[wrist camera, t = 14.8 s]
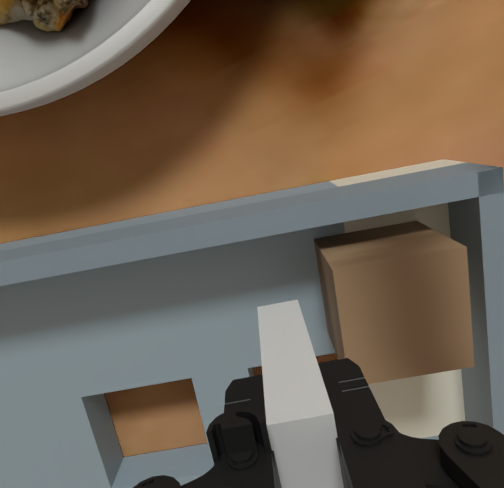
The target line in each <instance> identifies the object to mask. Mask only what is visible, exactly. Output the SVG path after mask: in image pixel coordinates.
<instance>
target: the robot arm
mask: <svg viewBox="0 0 504 488" xmlns="http://www.w3.org/2000/svg"><path fill="white" fill-rule="evenodd" d="M257 310H258V323H259V336H260V349H261V362H262V375H257V376H251V377H246V378H240V379H235V380H232V382H231V383H230V385H229V386H228V388H227V389H226V391H225V405H224V413H222V414H221V415H219V416H217V417H216V418H215V419H214V420H213V421H212V422H211V423H210V424H209V426H208V429H207V431H206V434H207V438H208V442H209V446H210V450H211V454H212V458H213V462H214V466H213V467H212V468H211V469H210V470H209V471H208V472H206V473H205V474H204V475H202V476H200V477H199V478H197V479H195V480H193V481H190V482H188V483H186V484H184V485H181V486H180V483H179V482H178V481H177V480H176V479H175V478H174V477H171V476H166V475H160V476H153V477H150V478H148V479H146V480H143V481H141V482H140V483H138V484H137V485H136V486H134V487H133V488H504V435H503V434H502V433H501V432H499V431H497V430H496V429H494V428H492V427H491V426H489V425H486V424H482V423H479V422H474V421H460V422H455V423H451V424H449V425H447V426H446V427H444V428H443V429H442V430H441V432H440V434H439V435H438V437H439V440H437V439H422V438H415V437H410V436H407V435H404V434H401V433H400V432H398V430H397V429H396V428H395V427H394V426H393V424H392V423H390V422H388V421H386V420H385V418H384V416H383V414H382V412H381V410H380V408H379V406H378V404H377V402H376V400H375V397H374V395H373V393H372V391H371V389H370V387H369V385H368V383H367V381H366V379H365V378H364V375H363V373H362V371H361V369H360V367H359V365H357V364H356V363H354V362H353V361H352V360H350V359H349V358H345V359H339V360H333V361H328V362H322V363H318V362H317V359H316V356H315V353H314V350H313V347H312V343H311V340H310V337H309V334H308V331H307V328H306V324H305V321H304V318H303V315H302V312H301V308H300V305H299V302H298V300H293V301H287V302H282V303H276V304H271V305H266V306H260V307H257Z"/></svg>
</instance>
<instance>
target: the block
mask: <svg viewBox="0 0 504 488" xmlns="http://www.w3.org/2000/svg"><path fill="white" fill-rule="evenodd" d="M314 245H315V251H316V258H317V265H318V271H319V278H320V284H321V291H322V297H323V304H324V310H325V317H326V324H327V330H328V334H329V337H330V339H331V342H332V344H333V347H334V349H335V352H336V354H337V357H338V360H339V359H345V358H349V359H350V360H352V361H353V362H354V363H356V364H357V365H359V367H360V369H361V371H362V373H363V375H364V378H365V379H366V381H367V383H368V384H372V383H378V382H384V381H391V380H397V379H403V378H409V377H415V376H421V375H427V374H433V373H439V372H446V371H452V370H458V369H464V368H470V367H474V353H473V337H472V321H471V305H470V290H469V274H468V258H467V247H466V246H464V245H462V244H460V243H458V242H457V241H455V240H453V239H451V238H449V237H447V236H445V235H443V234H441V233H440V232H438V231H436V230H434V229H432V228H430V227H428V226H426V225H424V224H422V223H421V222H419V221H411V222H405V223H400V224H394V225H389V226H383V227H377V228H372V229H366V230H360V231H355V232H349V233H344V234H338V235H332V236H327V237H321V238H315V239H314Z"/></svg>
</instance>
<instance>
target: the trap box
mask: <svg viewBox="0 0 504 488" xmlns="http://www.w3.org/2000/svg"><path fill="white" fill-rule="evenodd" d="M411 221H419V222H421V223H422V224H424V225H426V226H428V227H430V228H432V229H434V230H436V231H438V232H440V233H441V234H443V235H445V236H447V237H449V238H451V239H453V240H455V241H457V242H458V243H460V244H462V245H464V246H466V247H467V258H468V274H469V290H470V305H471V321H472V337H473V353H474V367H470V368H464V369H458V370H452V371H446V372H439V373H433V374H427V375H421V376H415V377H409V378H403V379H397V380H391V381H384V382H378V383H372V384H368V385H369V387H370V389H371V391H372V393H373V395H374V397H375V400H376V402H377V404H378V406H379V408H380V410H381V412H382V414H383V416H384V418H385V420H386V421H388V422H390V423H392V424H393V426H394V427H395V428H396V429H397V430H398V432H400V433H401V434H404V435H407V436H410V437H415V438H422V439H437V440H439V437H438V435H439V434H440V432H441V430H442V429H443V428H444V427H446V426H447V425H449V424H451V423H455V422H460V421H474V422H479V423H482V424H486V425H489V426H491V427H492V428H494V429H496V430H497V431H499V432H501V433H502V434H503V435H504V186H503V168H502V167H495V166H488V165H481V164H473V163H466V162H459V161H452V160H445V159H443V160H437V161H432V162H427V163H422V164H416V165H411V166H406V167H401V168H395V169H390V170H385V171H380V172H374V173H369V174H364V175H359V176H353V177H348V178H343V179H338V180H332V181H327V182H322V183H317V184H311V185H306V186H301V187H296V188H290V189H285V190H280V191H275V192H269V193H264V194H259V195H254V196H248V197H243V198H238V199H233V200H227V201H222V202H217V203H212V204H206V205H201V206H196V207H191V208H185V209H180V210H175V211H170V212H165V213H159V214H154V215H149V216H144V217H138V218H133V219H128V220H123V221H117V222H112V223H107V224H102V225H96V226H91V227H86V228H81V229H75V230H70V231H65V232H60V233H54V234H49V235H44V236H39V237H33V238H28V239H23V240H18V241H12V242H7V243H2V244H0V488H133V487H134V486H136V485H137V484H138V483H140V482H141V481H143V480H146V479H148V478H150V477H153V476H160V475H166V476H171V477H174V478H175V479H176V480H177V481H178V482H179V483H180V486H181V485H184V484H186V483H188V482H190V481H193V480H195V479H197V478H199V477H200V476H202V475H204V474H205V473H206V472H208V471H209V470H210V469H211V468H212V467H213V466H214V462H213V458H212V454H211V450H210V446H209V442H208V438H207V434H206V431H207V429H208V426H209V424H210V423H211V422H212V421H213V420H214V419H215V418H216V417H217V416H219V415H221V414H222V413H224V405H225V391H226V389H227V388H228V386H229V385H230V383H231V382H232V380H235V379H240V378H246V377H251V376H254V373H253V368H252V367H258V366H262V362H261V349H260V336H259V323H258V310H257V307H260V306H266V305H271V304H276V303H282V302H287V301H293V300H298V302H299V305H300V308H301V312H302V315H303V318H304V321H305V324H306V328H307V331H308V334H309V337H310V340H311V343H312V347H313V350H314V353H315V356H321V355H327V354H332V353H336V352H335V349H334V347H333V344H332V342H331V339H330V337H329V334H328V330H327V324H326V317H325V310H324V304H323V297H322V291H321V284H320V278H319V271H318V265H317V258H316V251H315V245H314V239H315V238H321V237H327V236H332V235H338V234H344V233H349V232H355V231H360V230H366V229H372V228H377V227H383V226H389V225H394V224H400V223H405V222H411ZM189 378H192V382H193V386H194V390H195V394H196V398H197V402H198V406H199V410H200V414H201V418H202V422H203V426H204V430H205V434H206V438H207V442H208V443H207V444H201V445H195V446H189V447H183V448H177V449H171V450H165V451H159V452H153V453H147V454H141V455H135V456H129V457H123V454H122V451H121V448H120V444H119V441H118V438H117V435H116V432H115V428H114V425H113V422H112V419H111V415H110V412H109V409H108V406H107V403H106V399H105V396H104V393H108V392H114V391H120V390H126V389H131V388H137V387H143V386H148V385H154V384H160V383H166V382H171V381H177V380H183V379H189Z"/></svg>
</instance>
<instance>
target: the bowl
mask: <svg viewBox="0 0 504 488" xmlns="http://www.w3.org/2000/svg"><path fill="white" fill-rule="evenodd" d="M189 2H190V0H0V116H4V115H9V114H13V113H18V112H22V111H26V110H29V109H33V108H36V107H39V106H43V105H46V104H48V103H51V102H54V101H56V100H59V99H62V98H64V97H66V96H68V95H71V94H73V93H75V92H77V91H79V90H81V89H84V88H85V87H87V86H89V85H91V84H93V83H94V82H96V81H98V80H100V79H102V78H103V77H105V76H107V75H108V74H110V73H111V72H113V71H114V70H116V69H117V68H119V67H120V66H122V65H123V64H125V63H126V62H127V61H129V60H130V59H131V58H133V57H134V56H135V55H137V54H138V53H139V52H141V51H142V50H143V49H144V48H145V47H146V46H147V45H148V44H150V43H151V42H152V41H153V40H154V39H155V38H156V37H158V36H159V35H160V34H161V33H162V32H163V31H164V30H165V29H166V27H167V26H168V25H169V24H170V23H171V22H172V21H173V20H174V19H175V18H176V17H177V16H178V15H179V13H180V12H181V11H182V10H183V9H184V8H185V7H186V5H187V4H188V3H189Z"/></svg>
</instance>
